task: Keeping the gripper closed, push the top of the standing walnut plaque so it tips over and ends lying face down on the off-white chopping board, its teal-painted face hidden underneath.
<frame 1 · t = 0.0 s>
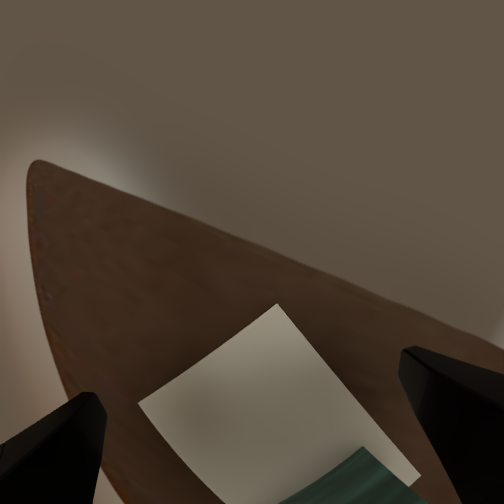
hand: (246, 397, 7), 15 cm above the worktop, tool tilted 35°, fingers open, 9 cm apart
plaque: (326, 494, 16), point 1 cm above the worktop, touching board
board: (290, 456, 18), on the worktop
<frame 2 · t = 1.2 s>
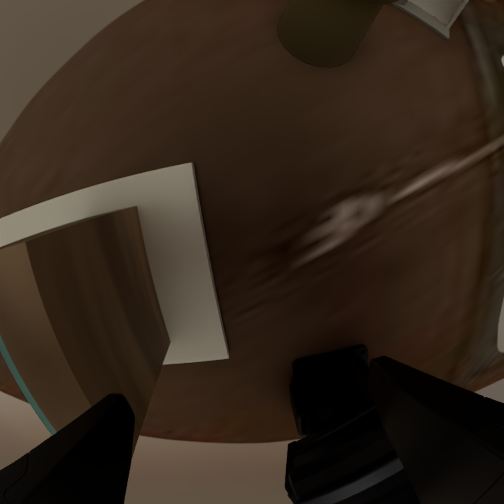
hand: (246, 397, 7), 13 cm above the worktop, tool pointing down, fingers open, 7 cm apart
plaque: (126, 282, 18), point 1 cm above the worktop, touching board
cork: (317, 35, 16), on the worktop
board: (78, 285, 19), on the worktop
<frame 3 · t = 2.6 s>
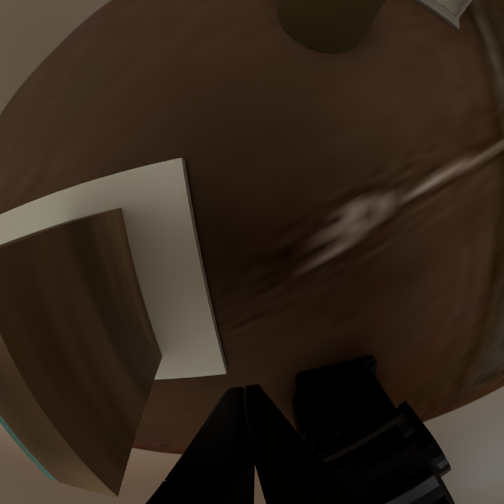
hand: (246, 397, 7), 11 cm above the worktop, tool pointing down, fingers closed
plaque: (112, 292, 16), point 1 cm above the worktop, touching board
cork: (321, 19, 14), on the worktop
board: (63, 294, 17), on the worktop
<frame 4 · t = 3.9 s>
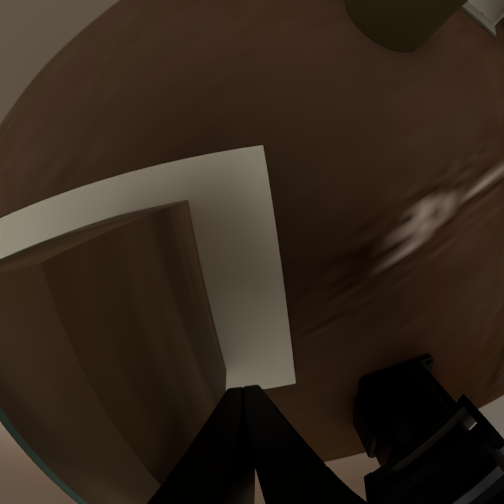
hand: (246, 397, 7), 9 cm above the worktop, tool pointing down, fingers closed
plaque: (171, 300, 15), point 1 cm above the worktop, touching board, gripper
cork: (384, 17, 12), on the worktop
board: (101, 303, 15), on the worktop
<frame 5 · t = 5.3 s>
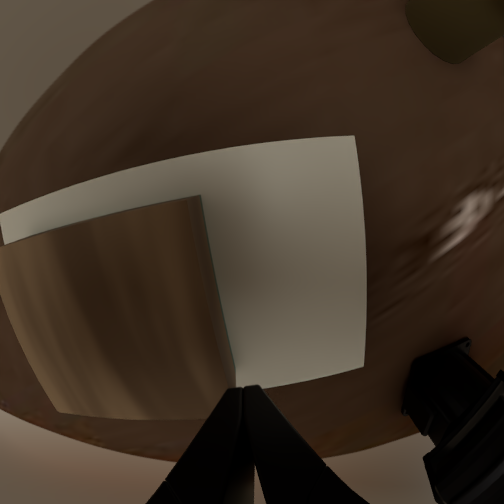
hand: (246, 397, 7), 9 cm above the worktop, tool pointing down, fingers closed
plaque: (216, 308, 13), point 3 cm above the worktop, tilted 90°, touching board
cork: (436, 30, 12), on the worktop
board: (168, 292, 15), on the worktop
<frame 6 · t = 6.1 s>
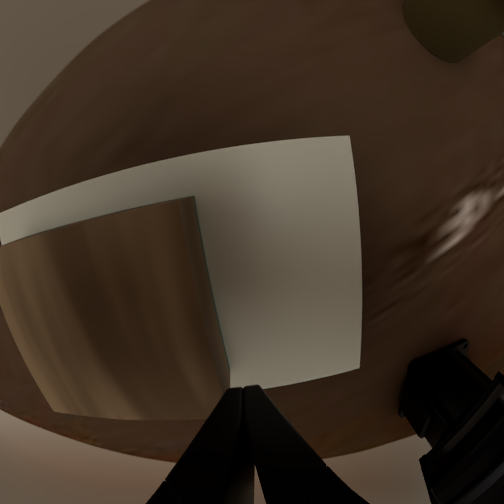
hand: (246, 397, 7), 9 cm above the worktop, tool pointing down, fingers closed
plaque: (209, 309, 12), point 3 cm above the worktop, tilted 90°, touching board
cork: (434, 29, 12), on the worktop
board: (163, 293, 15), on the worktop
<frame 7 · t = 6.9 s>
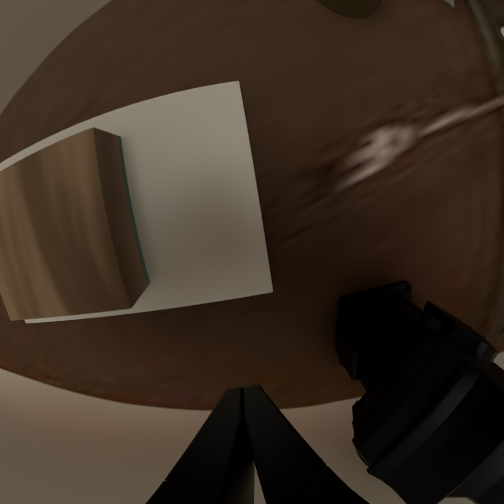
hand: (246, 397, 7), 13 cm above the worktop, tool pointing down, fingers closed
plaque: (121, 214, 15), point 3 cm above the worktop, tilted 90°, touching board
board: (101, 217, 18), on the worktop
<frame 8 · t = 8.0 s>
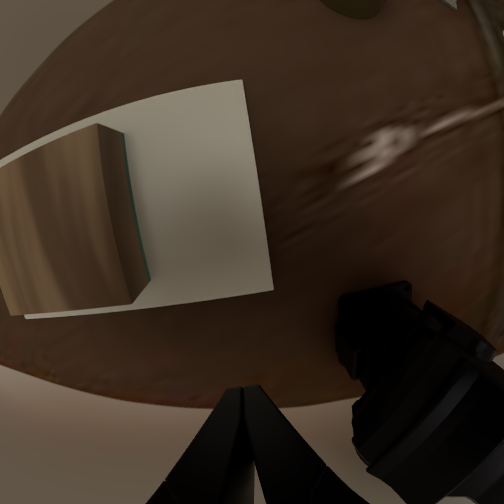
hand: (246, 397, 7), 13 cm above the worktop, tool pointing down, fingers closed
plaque: (123, 210, 15), point 3 cm above the worktop, tilted 90°, touching board
board: (103, 214, 18), on the worktop
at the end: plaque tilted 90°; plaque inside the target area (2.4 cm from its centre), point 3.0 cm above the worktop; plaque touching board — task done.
